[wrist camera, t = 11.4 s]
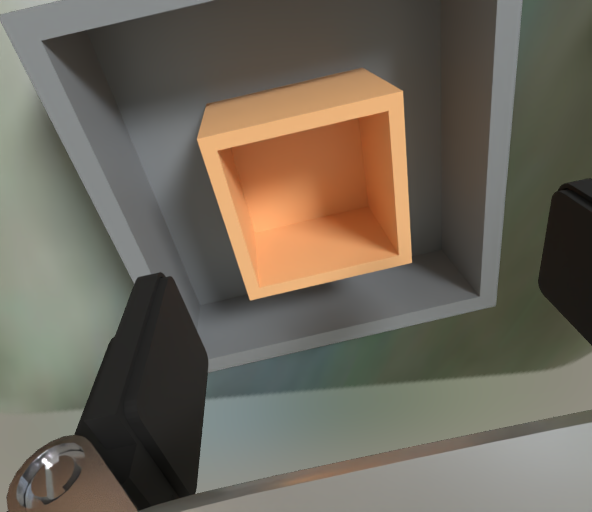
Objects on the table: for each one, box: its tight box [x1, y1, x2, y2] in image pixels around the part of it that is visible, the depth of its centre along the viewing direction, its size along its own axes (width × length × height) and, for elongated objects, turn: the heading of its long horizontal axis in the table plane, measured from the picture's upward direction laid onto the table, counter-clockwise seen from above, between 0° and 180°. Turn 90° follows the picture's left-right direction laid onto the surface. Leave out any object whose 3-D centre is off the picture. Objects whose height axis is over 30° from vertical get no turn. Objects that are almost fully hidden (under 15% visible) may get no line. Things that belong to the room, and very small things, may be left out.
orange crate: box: [197, 68, 412, 300], centre depth 17 cm, size 7×7×5 cm
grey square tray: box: [0, 0, 523, 373], centre depth 18 cm, size 15×15×5 cm
